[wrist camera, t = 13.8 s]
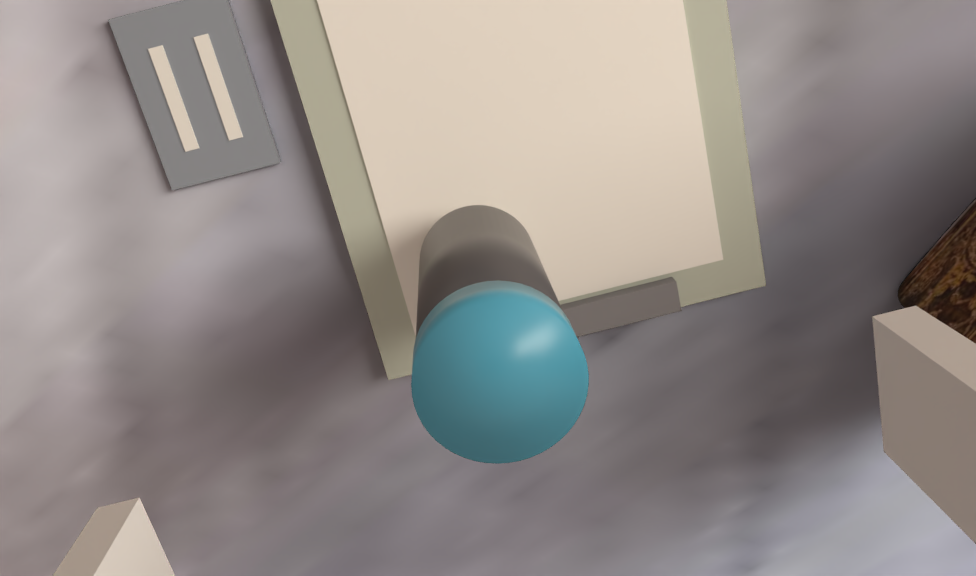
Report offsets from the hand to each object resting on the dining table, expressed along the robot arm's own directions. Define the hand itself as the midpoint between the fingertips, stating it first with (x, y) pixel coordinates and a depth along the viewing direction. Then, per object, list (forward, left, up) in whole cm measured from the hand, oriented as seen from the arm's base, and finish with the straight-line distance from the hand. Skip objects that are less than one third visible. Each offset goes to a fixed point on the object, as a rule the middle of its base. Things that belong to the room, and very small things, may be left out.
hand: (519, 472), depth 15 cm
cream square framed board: (-3, +3, -18) cm, 18 cm away
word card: (-7, -8, -18) cm, 21 cm away
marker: (0, 0, -17) cm, 17 cm away
